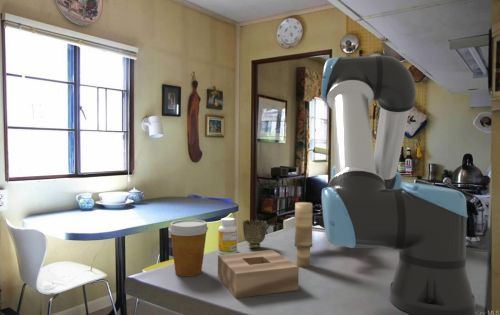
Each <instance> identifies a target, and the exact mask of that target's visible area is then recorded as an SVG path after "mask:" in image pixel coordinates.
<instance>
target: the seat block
mask: <svg viewBox="0 0 500 315" xmlns="http://www.w3.org/2000/svg"><path fill="white" fill-rule="evenodd" d="M299 269H300V268H299V266H297V264H295V263H294V262H292V261H290V260H289V259H288V258H286V257H284V256H283V255H282V254H280V253H279V252H276V251H275V250H274V249H268V250H258V251H257V250H256V251H248V252H247V251H246V252H236V253H234V254H217V277H218V278H219V280H220V281H221V282H222V283H223V285H224V286H225V287H226V288H227V290H228V291H229V293H230V294H232V295H233V297H234V298H235V299H241V298H247V297H255V296H257V297H258V296H262V295H271V294H276V293H277V294H278V293H279V294H280V293H285V292H293V291H299V275H300V274H299V273H300V272H299Z"/></svg>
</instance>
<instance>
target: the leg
mask: <svg viewBox="0 0 500 315" xmlns="http://www.w3.org/2000/svg"><path fill="white" fill-rule="evenodd" d="M312 214H313V203H312V202H306V201H299V202H295V203H294V215H295V227H294V244H293V245H294V247H296V265H297V266H298V267H300V268H309V267H310V266H311V248H313V225H312Z"/></svg>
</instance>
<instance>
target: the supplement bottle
mask: <svg viewBox="0 0 500 315" xmlns="http://www.w3.org/2000/svg"><path fill="white" fill-rule="evenodd" d="M235 220H236V219H235V218H234V217H223V218H221V219H220V224H221V225H219V227H218V238H217V240H218V241H217V242H218V253H219V254H220V255H223V254H234V253H238V227H237V226H236V225H235V223H236V221H235Z"/></svg>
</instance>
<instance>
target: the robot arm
mask: <svg viewBox="0 0 500 315" xmlns="http://www.w3.org/2000/svg"><path fill="white" fill-rule="evenodd" d="M320 95H321V100H322V101H323V102H326V103H327V105H328V107H329V108H330V109H331V110H332V112H333V114H332V115H333V117H332V118H333V145H334V146H333V148H334V152H333V153H334V166H332V168H331V178H330V180H329V182H328V185H327V187H324V188H322V190H321V206H322V207H321V208H320V210H319V212H315V213H312V227H317V226H319V227H322V228H323V229H324V231H325V236H326V238H327V240H328V242H329V244H331V245H333V246H335V247H336V246H338V247H347V248H350V249H354V248H355V249H356V248H360V249H361V248H362V249H383V250H384V249H385V250H399V253H398V263H397V266H396V270H395V272H394V276H393V278H392V280H393V281H392V282H391V283H390V285H389V289H388V290H389V291H388V292H389V293H388V294H389V295H388V297H389V301H390V303H391V304H392V305H393V306H395V307H396V308H397V309H399V310H402V311H404V312H406V313H407V314H410V315H476V312H477V310H476V306H477V301H476V300H477V299H476V298H475V295H474V293H473V291H472V287H471V283H470V279H469V276H468V273H467V270H466V269H467V267H466V264H467V263H466V258H467V222H468V221H467V220H468V218H469V215H468V211H467V209H468V208H467V198H466V196H465V195H464V193H463V192H461V191H459V190H457V189H453V188H448V187H443V186H438V185H432V184H425V183H418V182H408V181H403V178H402V174H401V173H400V172H399V171H398V167H399V163H400V162H399V161H400V157H401V151H402V148H403V142H404V138H405V133H406V128H407V125H408V124H407V123H408V118H409V113H410V111H412V110H413V109H414V107H415V102H416V98H417V87H416V83H415V79H414V78H413V75H412V73H411V71H410V69H408V68H407V66H406V65H405V64H404V63H403V62H402V61H401V60H399V59H398V58H395V57H394V56H392V55H391V56H390V55H369V56H368V55H367V56H365V55H364V56H363V55H361V56H337V57H330V58H328V59H327V60H326V61H325V64H324V66H323V72H322V81H321V92H320ZM373 101H377V106H378V107H379V108H380V110H379V117H378V124H377V132H376V138H375V144H374V145H373V135H372V126H371V125H372V124H371V118H370V117H371V116H370V109H369V107H371V105H372V104H373ZM282 223H283V225H282V226H283V228H282V230H283V231H284V232H285V231H288V230H291V229H293V228H295V214H288V215H285V219H283V222H282Z"/></svg>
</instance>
